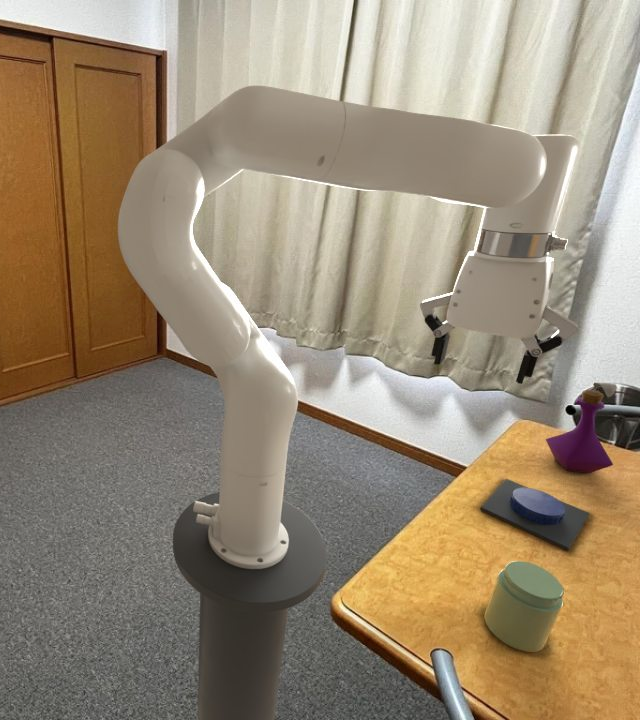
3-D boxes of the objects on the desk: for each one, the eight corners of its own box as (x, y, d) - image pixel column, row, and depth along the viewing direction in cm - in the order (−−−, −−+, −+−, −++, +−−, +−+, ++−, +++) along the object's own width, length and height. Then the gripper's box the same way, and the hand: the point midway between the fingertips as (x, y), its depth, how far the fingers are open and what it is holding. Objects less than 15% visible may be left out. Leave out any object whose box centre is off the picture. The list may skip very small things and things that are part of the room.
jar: (490, 642, 59) (509, 592, 55) (479, 600, 64) (495, 552, 61) (553, 659, 57) (576, 608, 53) (535, 615, 62) (556, 566, 59)
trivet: (568, 551, 72) (569, 548, 72) (480, 509, 81) (481, 507, 80) (588, 515, 79) (589, 512, 79) (505, 481, 87) (506, 478, 87)
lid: (563, 508, 80) (566, 499, 79) (560, 531, 75) (564, 522, 74) (512, 490, 84) (515, 482, 83) (506, 512, 79) (509, 502, 78)
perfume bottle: (540, 452, 95) (568, 371, 88) (583, 456, 94) (615, 374, 87) (561, 475, 89) (593, 389, 82) (607, 479, 87) (644, 392, 80)
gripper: (604, 247, 56) (559, 378, 63) (441, 235, 66) (417, 348, 73) (603, 257, 51) (554, 399, 58) (427, 242, 61) (402, 363, 68)
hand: (477, 370), depth 65 cm, fingers open, 9 cm apart
